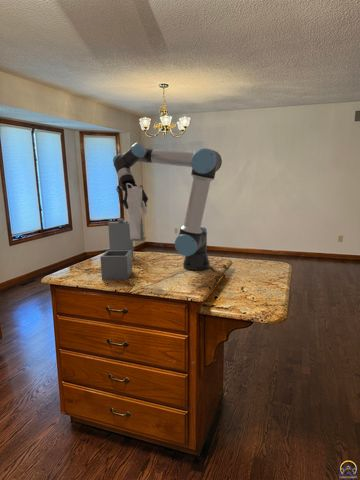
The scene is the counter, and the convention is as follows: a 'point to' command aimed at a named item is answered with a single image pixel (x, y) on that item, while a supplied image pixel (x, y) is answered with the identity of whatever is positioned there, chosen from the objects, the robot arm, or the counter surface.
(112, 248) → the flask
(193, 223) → the robot arm
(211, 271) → the counter surface
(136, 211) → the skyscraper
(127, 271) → the grey open box
